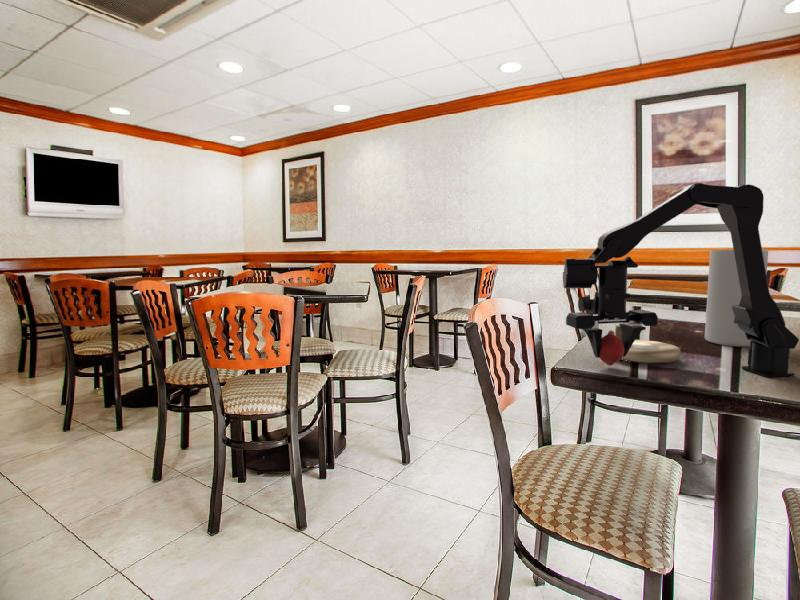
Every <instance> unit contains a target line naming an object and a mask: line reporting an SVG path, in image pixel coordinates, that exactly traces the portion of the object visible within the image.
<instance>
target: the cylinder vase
mask: <svg viewBox="0 0 800 600" xmlns="http://www.w3.org/2000/svg"><path fill="white" fill-rule="evenodd" d="M762 252H763V258H764V264H765V270H766V276H767V275H768V274H767V272H768V260H769V249H768V250H766V249H762ZM708 263H709V265H708V280H707V297H706V309H705V310H706V312H705V324H704V325H705V328H704V339H705V340H706V341H707V342H709V343H713V344H716V345H721V346H727V347H728V346H729V347H743V348H744V347H745V348H746V347H748V348H749V347H750V341H751V340H748V339H747V338H746V335H745V332H744V331H742V330H741V329H740V328H739V326H738V324H736V323H734V319H735V315H734V312H733V309H732V305H739V303H740V300H741V297H742V294H741V288H740V283H739V277H738V271H737V266H736V260H735V254H734V249H718V250H717V249H716V250H715V249H714V250H710V251H709V262H708Z"/></svg>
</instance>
